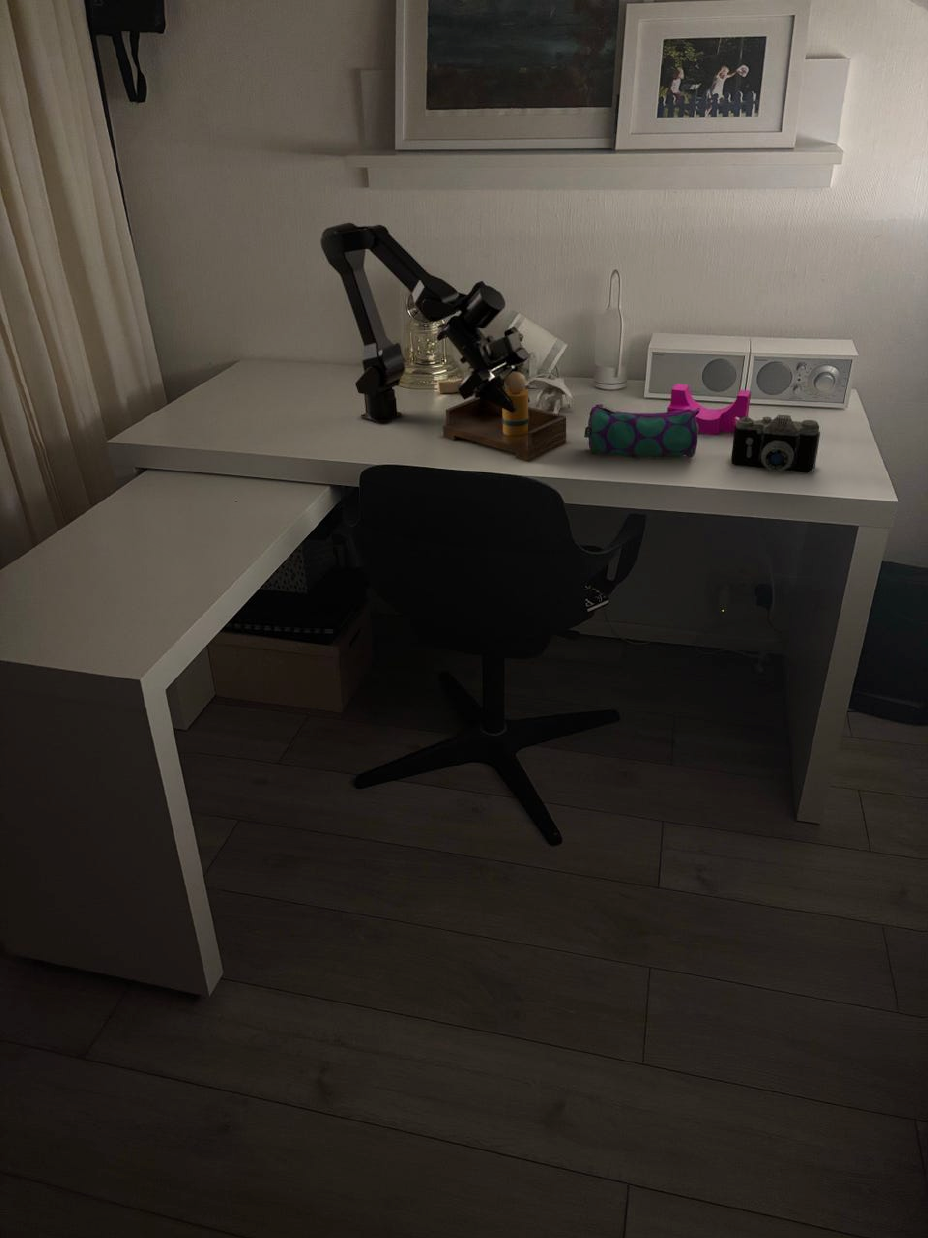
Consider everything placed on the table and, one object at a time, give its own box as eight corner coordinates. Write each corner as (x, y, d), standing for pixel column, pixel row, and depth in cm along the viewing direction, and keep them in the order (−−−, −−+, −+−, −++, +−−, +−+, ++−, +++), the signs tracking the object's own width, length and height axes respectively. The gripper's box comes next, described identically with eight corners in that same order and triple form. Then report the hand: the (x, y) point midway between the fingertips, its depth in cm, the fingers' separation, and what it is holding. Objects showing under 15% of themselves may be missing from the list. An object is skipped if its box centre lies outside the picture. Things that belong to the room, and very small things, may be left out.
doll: (497, 432, 192) (495, 373, 185) (513, 424, 195) (512, 366, 189) (517, 438, 189) (516, 377, 182) (534, 430, 192) (534, 370, 186)
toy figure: (443, 401, 217) (508, 390, 219) (440, 373, 214) (506, 362, 216) (438, 395, 223) (501, 385, 225) (434, 367, 221) (498, 357, 223)
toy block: (665, 429, 196) (668, 393, 192) (673, 418, 201) (675, 383, 197) (741, 437, 191) (745, 400, 187) (746, 426, 196) (751, 390, 192)
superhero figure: (570, 430, 200) (583, 390, 216) (569, 388, 195) (582, 350, 210) (521, 429, 203) (537, 389, 218) (519, 387, 197) (535, 349, 213)
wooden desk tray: (443, 437, 197) (441, 411, 194) (481, 420, 205) (480, 394, 202) (528, 461, 185) (528, 434, 182) (566, 442, 192) (566, 416, 189)
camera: (727, 471, 177) (732, 419, 172) (732, 458, 182) (738, 406, 177) (812, 480, 172) (820, 427, 167) (814, 466, 178) (823, 413, 172)
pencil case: (583, 461, 184) (584, 412, 179) (588, 443, 191) (589, 396, 186) (695, 466, 180) (700, 416, 175) (696, 448, 187) (700, 400, 182)
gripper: (469, 328, 176) (522, 397, 176) (521, 305, 189) (570, 368, 189) (435, 366, 183) (486, 431, 184) (487, 340, 197) (535, 401, 197)
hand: (521, 407), depth 188 cm, fingers closed on doll, 5 cm apart
